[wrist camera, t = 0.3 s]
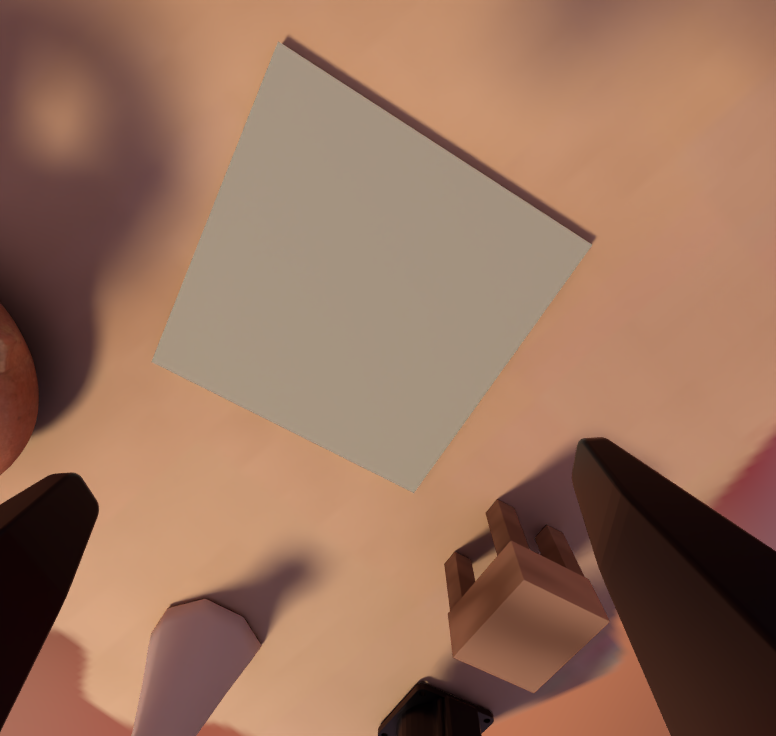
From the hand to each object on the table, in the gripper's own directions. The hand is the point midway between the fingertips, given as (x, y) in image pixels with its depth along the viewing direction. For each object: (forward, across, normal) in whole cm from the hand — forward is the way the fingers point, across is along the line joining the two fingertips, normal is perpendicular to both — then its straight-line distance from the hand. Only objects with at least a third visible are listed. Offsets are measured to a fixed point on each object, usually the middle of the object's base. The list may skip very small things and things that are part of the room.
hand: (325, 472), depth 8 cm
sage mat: (+14, +1, +3) cm, 15 cm away
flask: (+10, +14, +25) cm, 30 cm away
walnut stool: (+11, -7, +19) cm, 23 cm away
